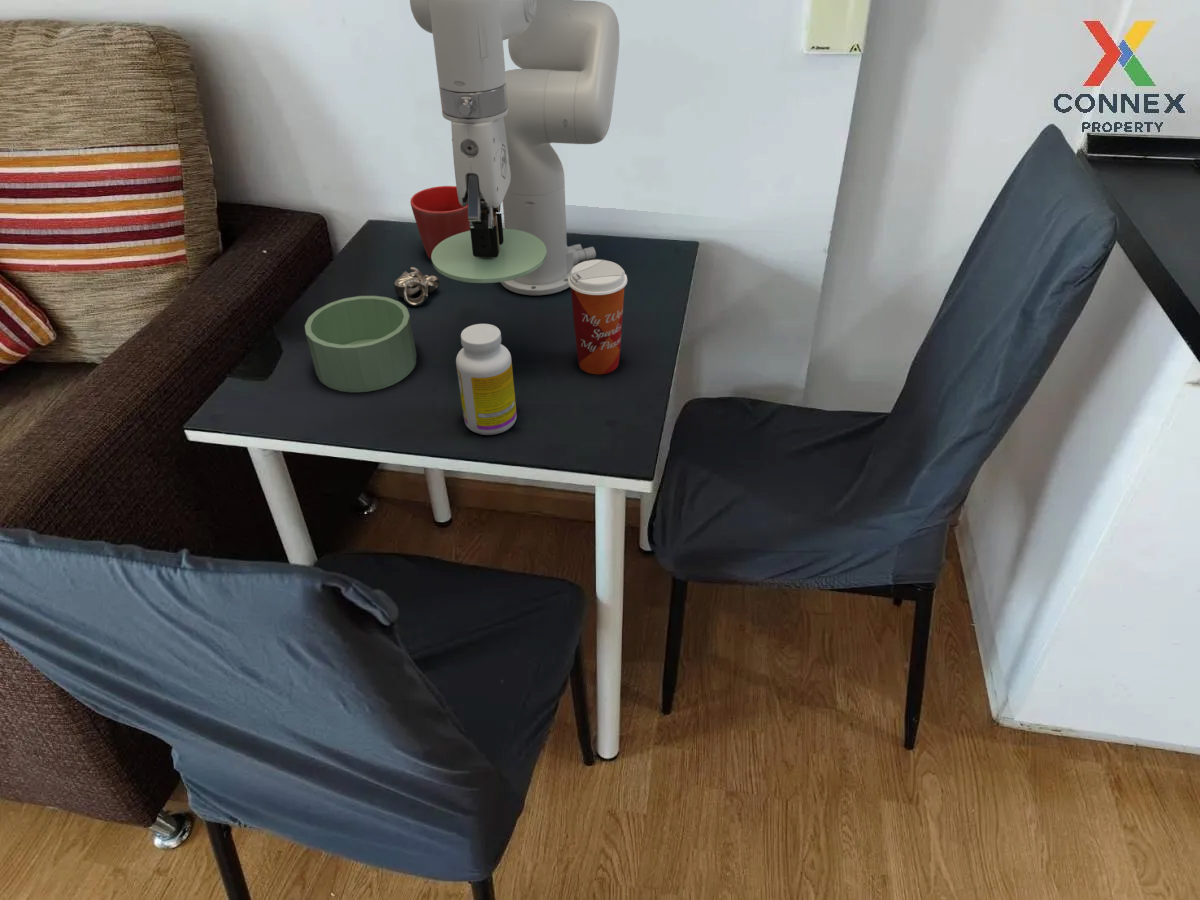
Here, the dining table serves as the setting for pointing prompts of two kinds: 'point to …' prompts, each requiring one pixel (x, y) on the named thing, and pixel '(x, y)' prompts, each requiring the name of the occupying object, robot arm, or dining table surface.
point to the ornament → (415, 286)
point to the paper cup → (597, 313)
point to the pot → (361, 343)
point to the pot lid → (512, 261)
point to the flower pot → (439, 215)
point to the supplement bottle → (486, 380)
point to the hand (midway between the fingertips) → (488, 248)
